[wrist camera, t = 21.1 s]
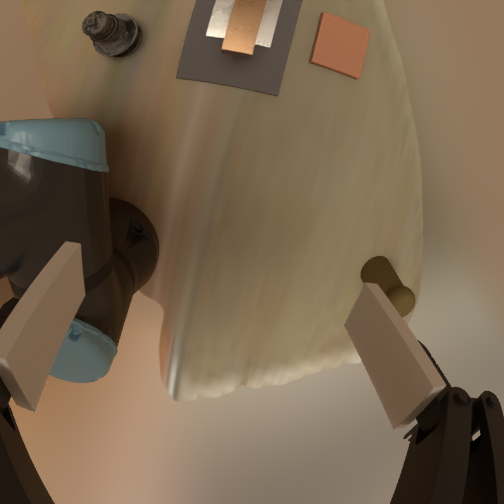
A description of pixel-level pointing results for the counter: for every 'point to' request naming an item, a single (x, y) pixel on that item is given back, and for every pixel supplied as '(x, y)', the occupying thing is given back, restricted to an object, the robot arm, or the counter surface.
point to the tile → (339, 45)
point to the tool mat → (232, 67)
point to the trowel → (244, 25)
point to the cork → (388, 284)
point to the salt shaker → (112, 33)
